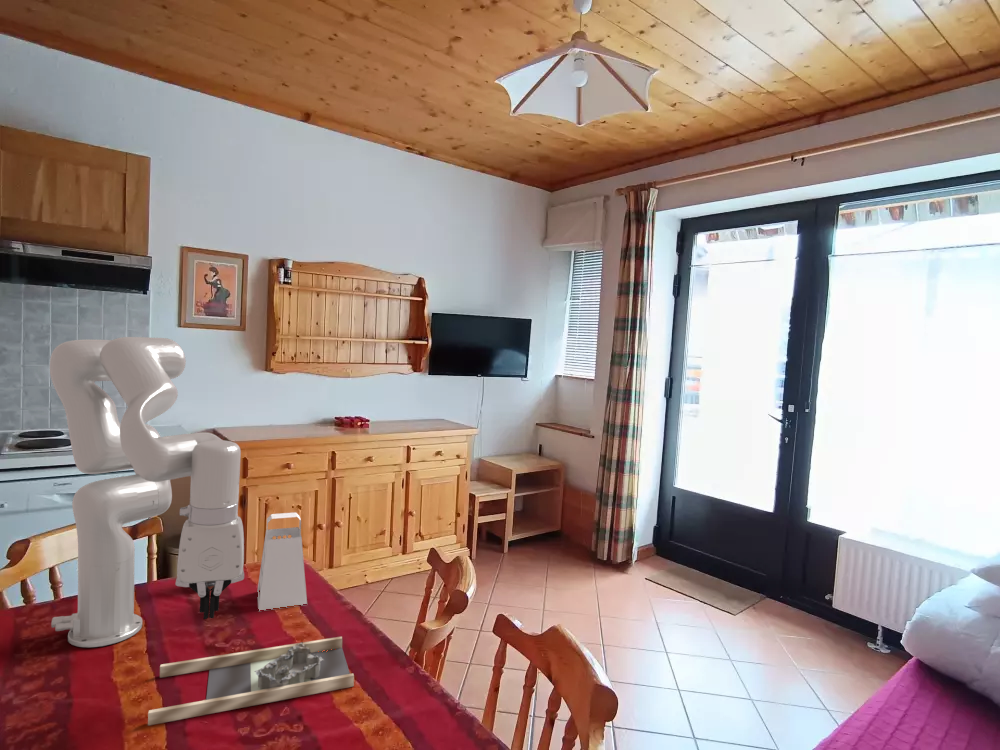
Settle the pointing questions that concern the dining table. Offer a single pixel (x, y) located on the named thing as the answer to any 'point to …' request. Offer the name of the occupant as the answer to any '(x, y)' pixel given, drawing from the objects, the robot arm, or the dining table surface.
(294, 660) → the egg carton
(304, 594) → the grater
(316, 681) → the channel
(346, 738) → the dining table surface
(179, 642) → the dining table surface
